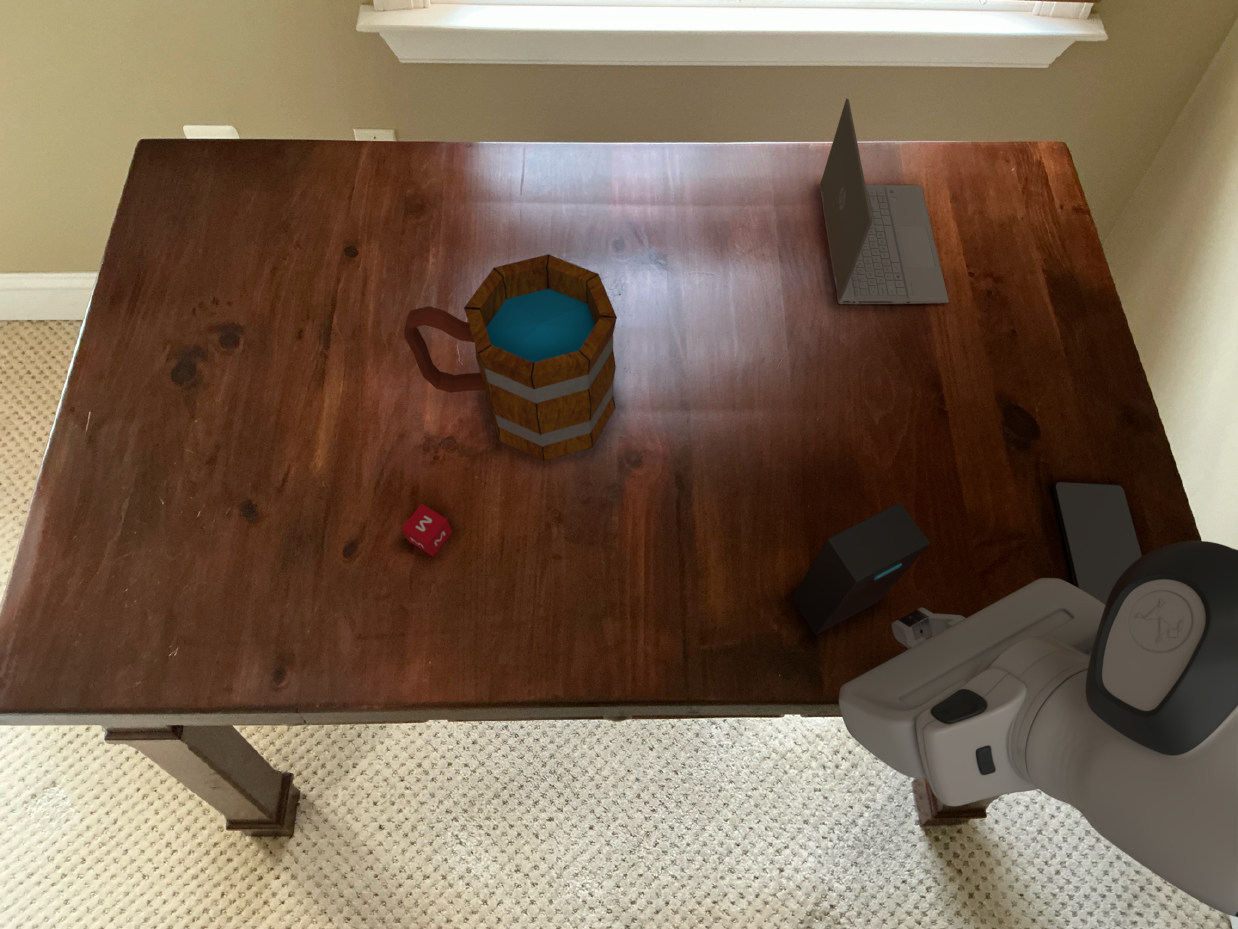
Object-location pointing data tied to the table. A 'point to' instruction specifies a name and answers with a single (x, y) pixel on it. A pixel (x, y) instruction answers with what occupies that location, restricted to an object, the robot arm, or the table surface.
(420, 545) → the dice
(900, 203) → the laptop
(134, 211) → the table surface
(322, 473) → the table surface
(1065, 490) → the smartphone
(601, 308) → the mug
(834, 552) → the black power bank
